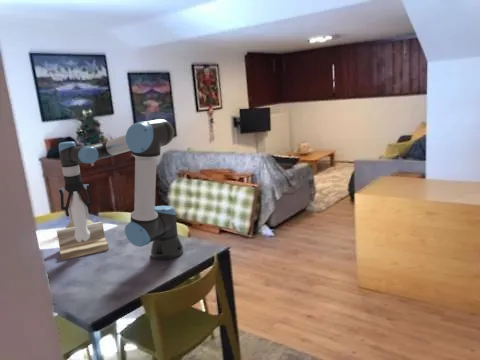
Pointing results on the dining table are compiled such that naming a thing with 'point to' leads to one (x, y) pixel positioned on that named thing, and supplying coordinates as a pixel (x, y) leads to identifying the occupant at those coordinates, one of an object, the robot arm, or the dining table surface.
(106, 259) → the dining table surface
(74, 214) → the water bottle
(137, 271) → the dining table surface
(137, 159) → the robot arm
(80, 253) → the board
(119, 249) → the dining table surface
